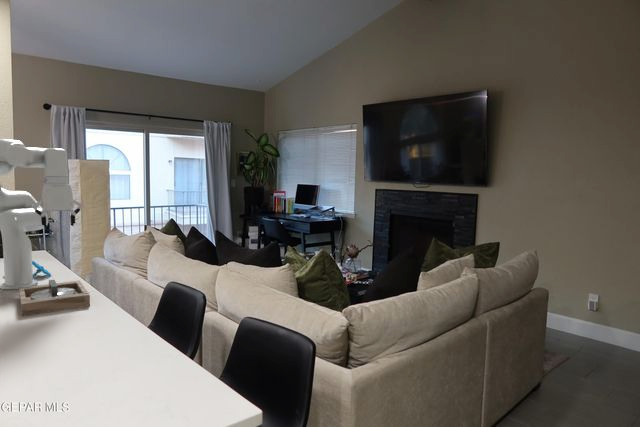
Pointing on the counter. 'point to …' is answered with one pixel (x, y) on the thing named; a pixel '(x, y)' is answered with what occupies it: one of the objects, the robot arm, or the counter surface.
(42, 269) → the gear
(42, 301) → the dial panel
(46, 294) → the dial
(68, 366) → the counter surface
